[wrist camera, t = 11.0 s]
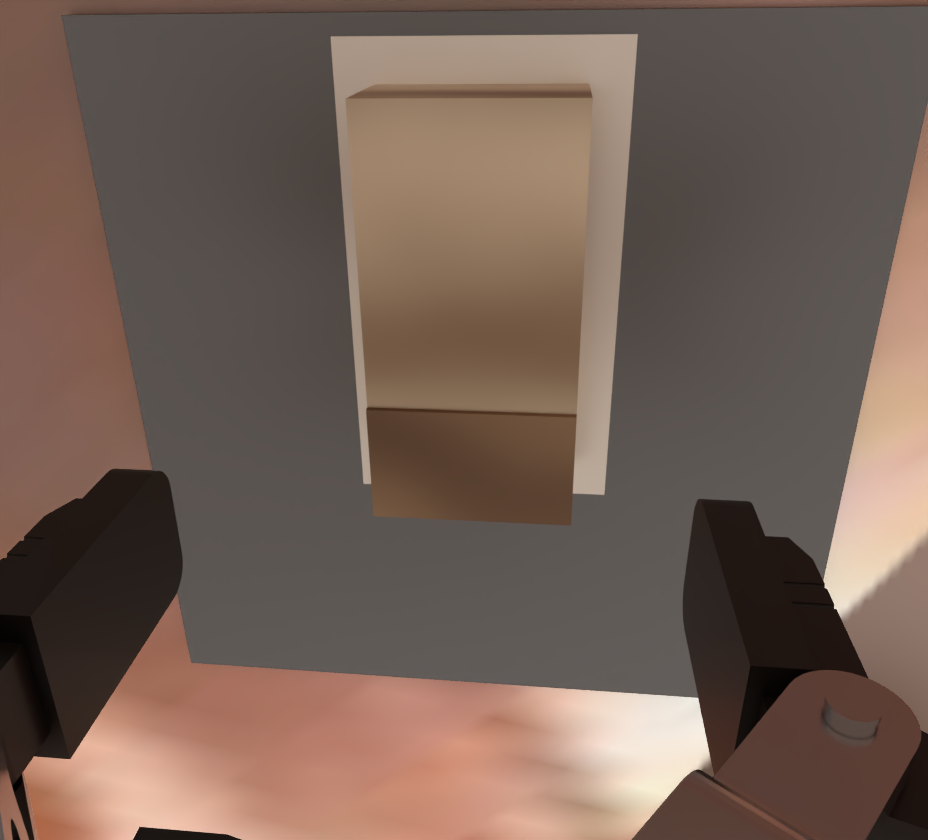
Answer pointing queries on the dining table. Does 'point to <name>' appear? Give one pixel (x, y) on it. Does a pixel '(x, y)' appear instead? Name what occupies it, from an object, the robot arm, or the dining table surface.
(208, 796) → the dining table surface
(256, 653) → the mat
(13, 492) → the dining table surface
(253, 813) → the dining table surface
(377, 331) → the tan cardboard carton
